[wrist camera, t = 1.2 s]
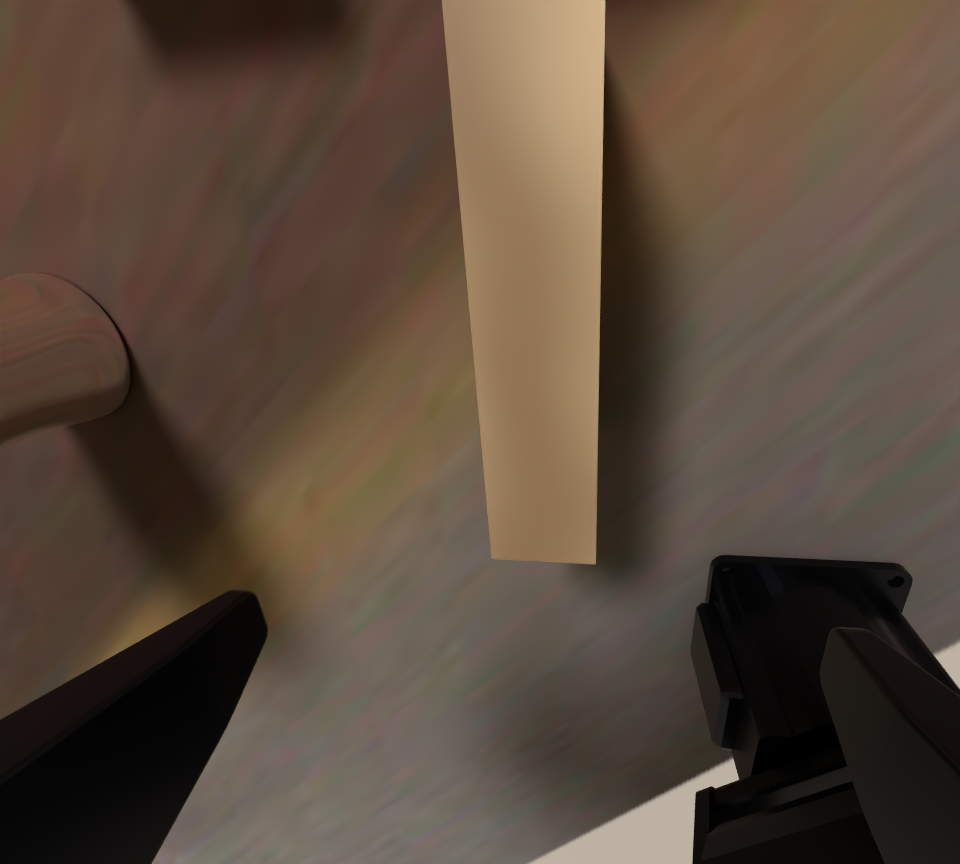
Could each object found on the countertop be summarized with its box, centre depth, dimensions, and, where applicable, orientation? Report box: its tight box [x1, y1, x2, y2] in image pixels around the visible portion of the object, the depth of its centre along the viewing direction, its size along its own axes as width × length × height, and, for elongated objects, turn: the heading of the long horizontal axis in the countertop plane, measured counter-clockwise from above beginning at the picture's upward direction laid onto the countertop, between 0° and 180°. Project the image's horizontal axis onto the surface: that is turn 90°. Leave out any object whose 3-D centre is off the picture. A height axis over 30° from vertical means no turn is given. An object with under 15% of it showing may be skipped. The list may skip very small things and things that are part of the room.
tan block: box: [442, 0, 605, 564], centre depth 13 cm, size 2×12×7 cm, turn 5°
